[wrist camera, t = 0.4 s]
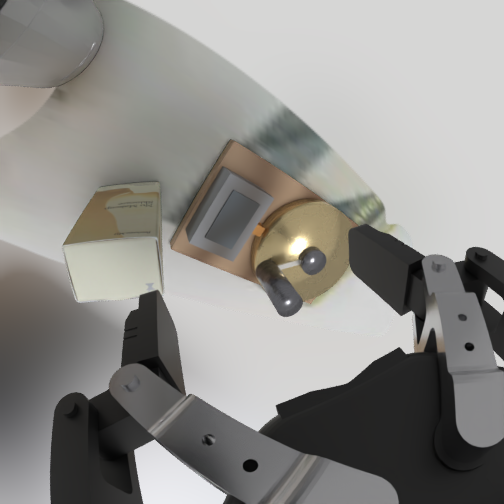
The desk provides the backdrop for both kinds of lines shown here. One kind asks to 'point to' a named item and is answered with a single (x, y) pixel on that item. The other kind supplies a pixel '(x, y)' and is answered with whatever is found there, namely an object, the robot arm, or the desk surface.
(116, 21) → the desk surface
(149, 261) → the skincare box
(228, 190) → the tan piece
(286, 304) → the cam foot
